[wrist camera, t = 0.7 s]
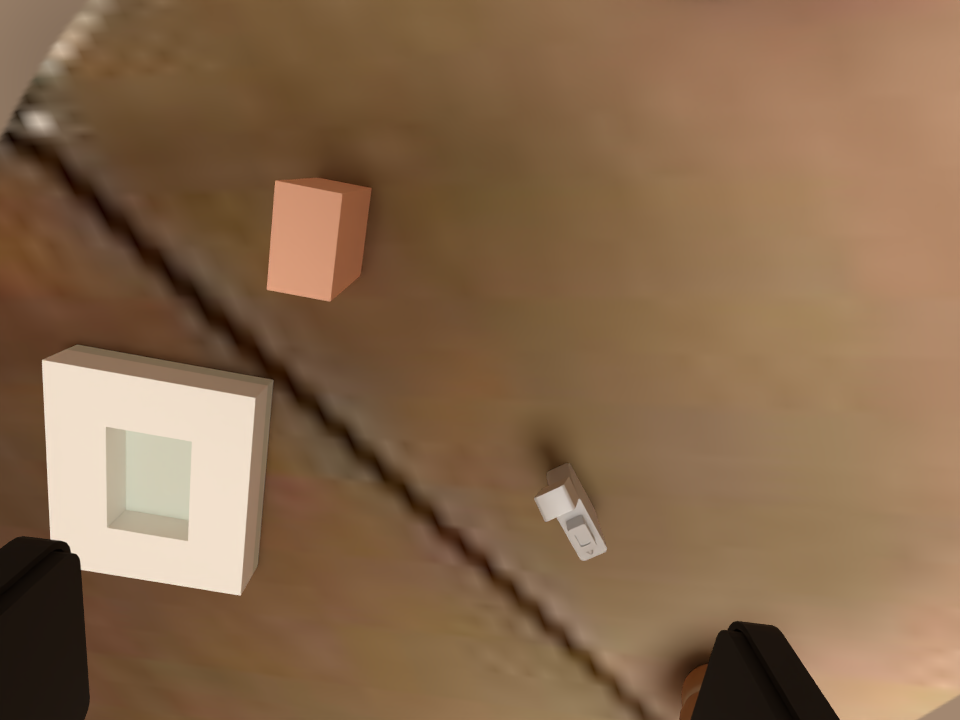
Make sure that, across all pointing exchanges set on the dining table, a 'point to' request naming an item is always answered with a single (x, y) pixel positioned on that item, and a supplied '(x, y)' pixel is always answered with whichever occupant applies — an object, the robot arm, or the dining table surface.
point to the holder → (156, 466)
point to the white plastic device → (571, 511)
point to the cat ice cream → (691, 691)
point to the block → (317, 236)
